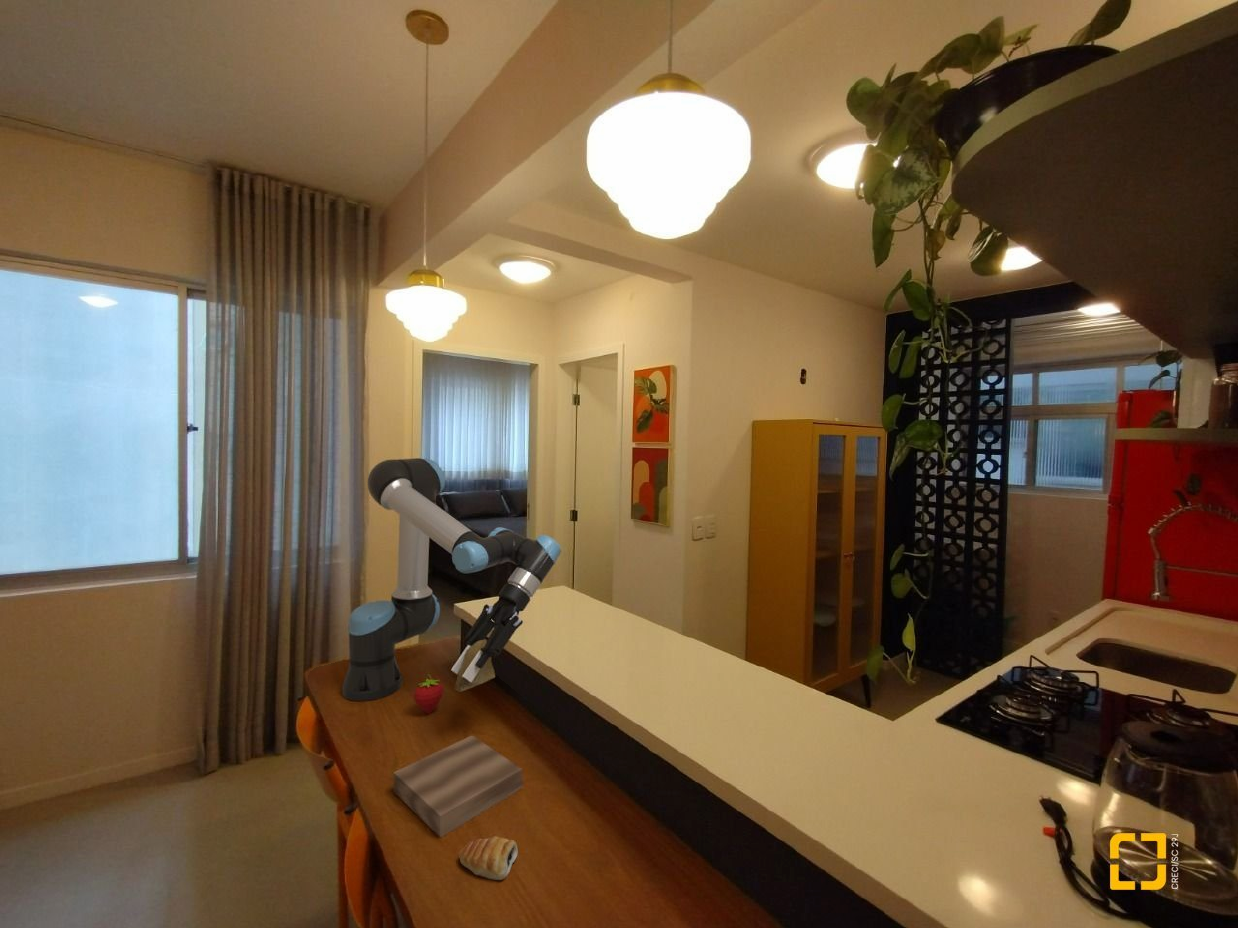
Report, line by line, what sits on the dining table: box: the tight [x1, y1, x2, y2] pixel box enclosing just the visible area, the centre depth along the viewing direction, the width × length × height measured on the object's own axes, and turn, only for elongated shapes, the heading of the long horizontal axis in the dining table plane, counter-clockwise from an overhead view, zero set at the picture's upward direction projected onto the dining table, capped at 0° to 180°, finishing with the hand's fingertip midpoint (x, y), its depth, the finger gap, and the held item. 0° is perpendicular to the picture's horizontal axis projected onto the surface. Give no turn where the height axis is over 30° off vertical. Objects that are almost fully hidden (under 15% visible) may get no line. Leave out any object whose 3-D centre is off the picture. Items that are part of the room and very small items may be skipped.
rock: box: [454, 638, 496, 693], centre depth 124 cm, size 11×9×10 cm
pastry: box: [458, 835, 519, 881], centre depth 88 cm, size 9×7×4 cm
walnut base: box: [393, 735, 523, 839], centre depth 106 cm, size 18×18×4 cm
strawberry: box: [413, 673, 444, 714], centre depth 135 cm, size 6×8×10 cm
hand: (461, 675), depth 121 cm, fingers closed on rock, 4 cm apart
